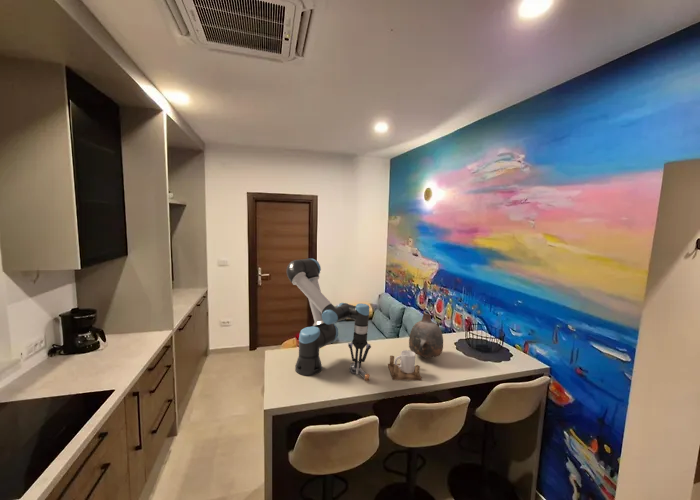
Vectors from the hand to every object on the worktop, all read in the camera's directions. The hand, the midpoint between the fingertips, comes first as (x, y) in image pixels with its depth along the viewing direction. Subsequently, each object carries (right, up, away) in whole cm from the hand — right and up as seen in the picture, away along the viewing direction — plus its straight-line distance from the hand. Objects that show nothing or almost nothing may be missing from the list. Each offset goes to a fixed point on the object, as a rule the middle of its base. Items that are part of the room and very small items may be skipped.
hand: (357, 373), depth 170 cm
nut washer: (-1, -1, +6) cm, 6 cm away
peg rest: (+27, -2, +6) cm, 28 cm away
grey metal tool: (+2, -1, +1) cm, 2 cm away
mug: (+27, -1, +6) cm, 28 cm away
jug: (+45, -1, +29) cm, 53 cm away
